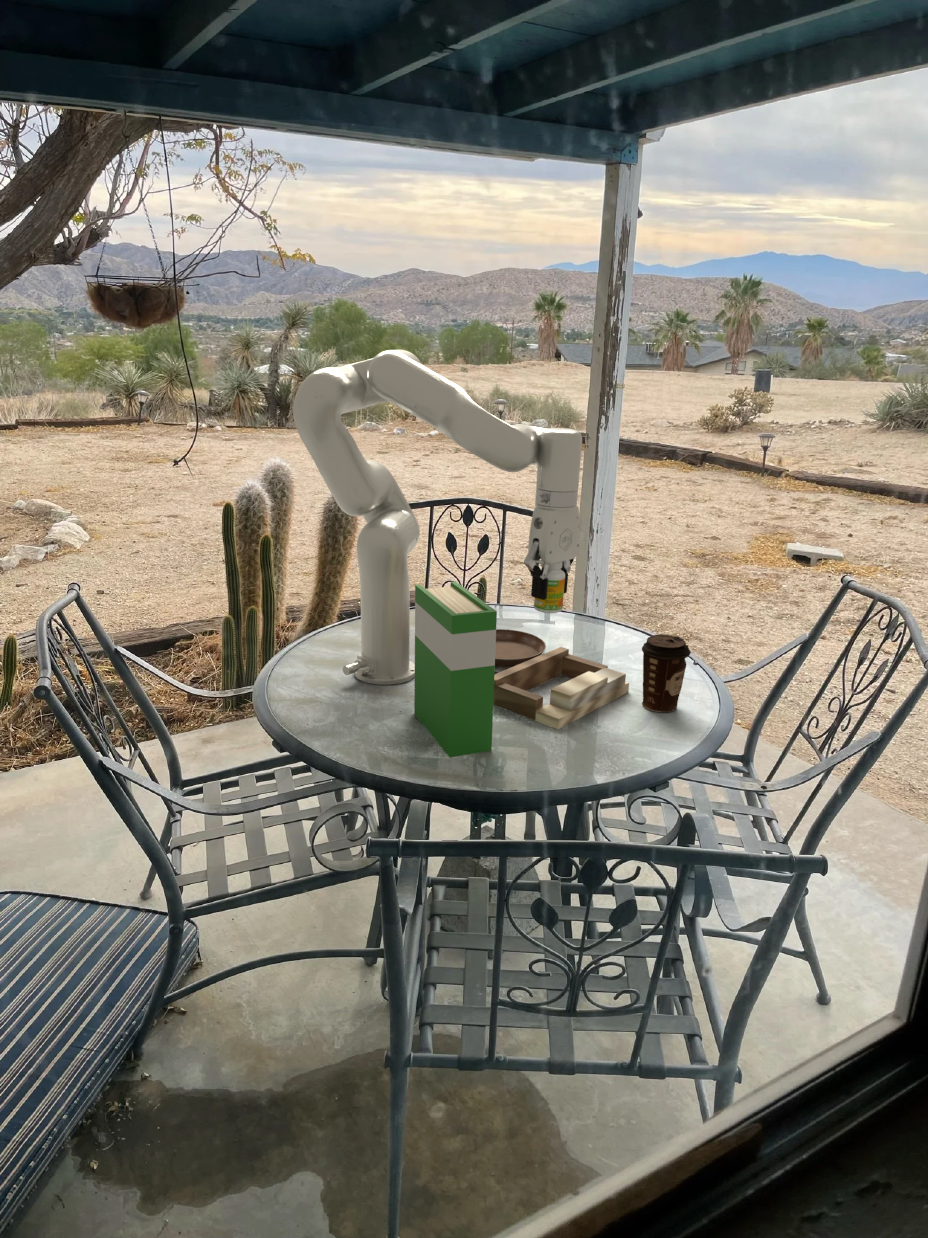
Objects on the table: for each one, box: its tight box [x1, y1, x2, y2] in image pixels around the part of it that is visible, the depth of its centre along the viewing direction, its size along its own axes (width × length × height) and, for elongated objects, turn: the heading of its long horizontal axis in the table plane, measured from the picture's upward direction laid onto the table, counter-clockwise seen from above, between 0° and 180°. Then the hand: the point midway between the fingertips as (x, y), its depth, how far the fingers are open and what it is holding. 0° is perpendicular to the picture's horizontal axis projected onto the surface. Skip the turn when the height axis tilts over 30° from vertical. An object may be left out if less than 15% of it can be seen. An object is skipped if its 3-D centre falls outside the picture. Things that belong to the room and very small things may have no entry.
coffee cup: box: [641, 633, 692, 713], centre depth 156 cm, size 9×8×13 cm
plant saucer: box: [495, 628, 547, 668], centre depth 181 cm, size 18×18×3 cm
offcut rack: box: [493, 646, 630, 730], centre depth 160 cm, size 23×16×5 cm
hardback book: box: [413, 581, 498, 758], centre depth 142 cm, size 18×7×24 cm, turn 22°
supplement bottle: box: [533, 559, 565, 614], centre depth 158 cm, size 5×5×10 cm
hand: (549, 593), depth 159 cm, fingers closed on supplement bottle, 5 cm apart
